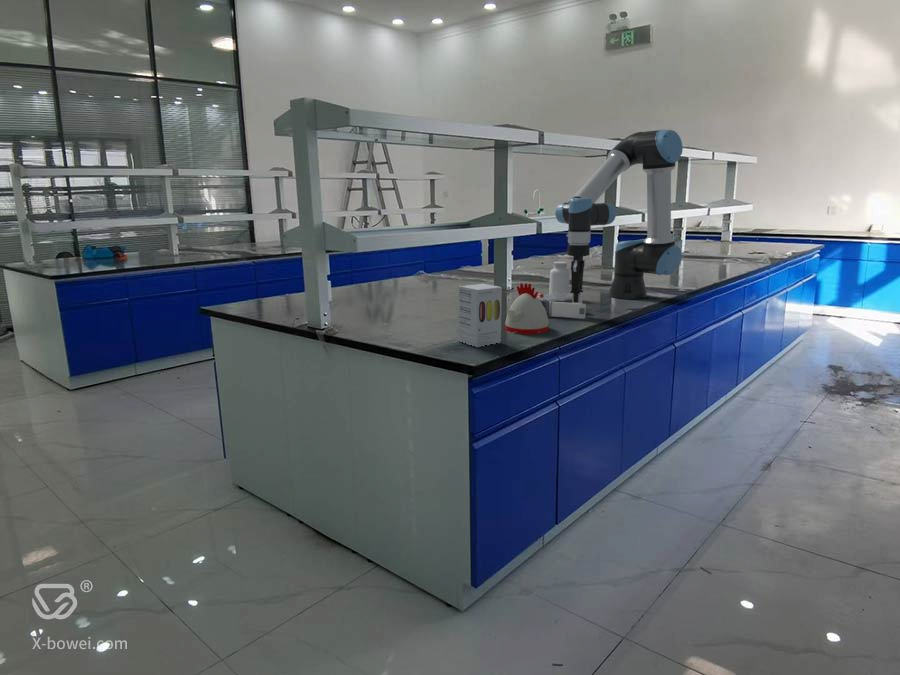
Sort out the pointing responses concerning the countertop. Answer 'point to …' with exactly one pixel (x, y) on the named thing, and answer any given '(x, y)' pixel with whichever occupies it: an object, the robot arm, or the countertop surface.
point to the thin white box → (567, 309)
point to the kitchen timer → (527, 313)
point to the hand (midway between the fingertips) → (576, 311)
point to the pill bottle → (559, 278)
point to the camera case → (555, 299)
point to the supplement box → (480, 314)
